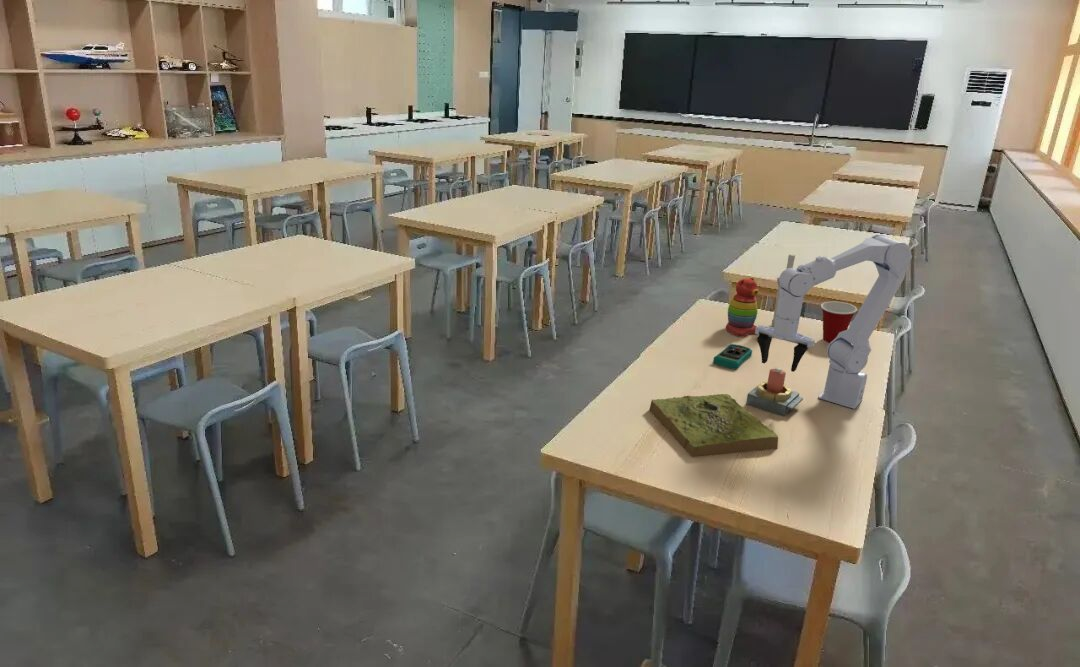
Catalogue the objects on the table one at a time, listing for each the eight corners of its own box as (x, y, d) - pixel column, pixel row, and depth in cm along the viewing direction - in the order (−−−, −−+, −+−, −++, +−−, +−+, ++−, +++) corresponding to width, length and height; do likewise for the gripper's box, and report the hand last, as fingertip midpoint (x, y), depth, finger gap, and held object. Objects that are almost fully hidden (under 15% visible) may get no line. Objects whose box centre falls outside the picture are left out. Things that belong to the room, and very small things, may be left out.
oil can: (783, 392, 189) (788, 368, 187) (779, 397, 186) (784, 373, 184) (768, 388, 191) (772, 364, 189) (764, 393, 188) (768, 369, 185)
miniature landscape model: (691, 459, 161) (694, 439, 160) (648, 411, 182) (650, 393, 181) (777, 450, 167) (781, 431, 165) (726, 405, 188) (729, 387, 187)
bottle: (785, 324, 250) (798, 253, 241) (788, 329, 245) (801, 257, 236) (769, 323, 250) (782, 252, 242) (772, 328, 246) (785, 256, 237)
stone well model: (802, 405, 190) (805, 389, 188) (789, 418, 182) (792, 401, 180) (760, 392, 196) (763, 376, 194) (745, 404, 188) (748, 388, 187)
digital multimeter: (752, 356, 221) (753, 347, 220) (736, 371, 210) (737, 362, 209) (728, 350, 225) (730, 341, 224) (711, 365, 213) (713, 355, 212)
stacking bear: (738, 337, 235) (747, 284, 229) (717, 327, 243) (725, 276, 237) (763, 333, 240) (772, 281, 234) (741, 323, 248) (749, 273, 242)
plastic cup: (807, 337, 239) (813, 302, 235) (830, 333, 244) (837, 299, 240) (833, 348, 230) (841, 313, 226) (856, 344, 235) (864, 309, 231)
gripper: (754, 313, 184) (745, 363, 189) (811, 327, 176) (801, 378, 181) (764, 307, 189) (756, 355, 194) (820, 320, 181) (810, 370, 186)
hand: (778, 366), depth 188 cm, fingers open, 7 cm apart
